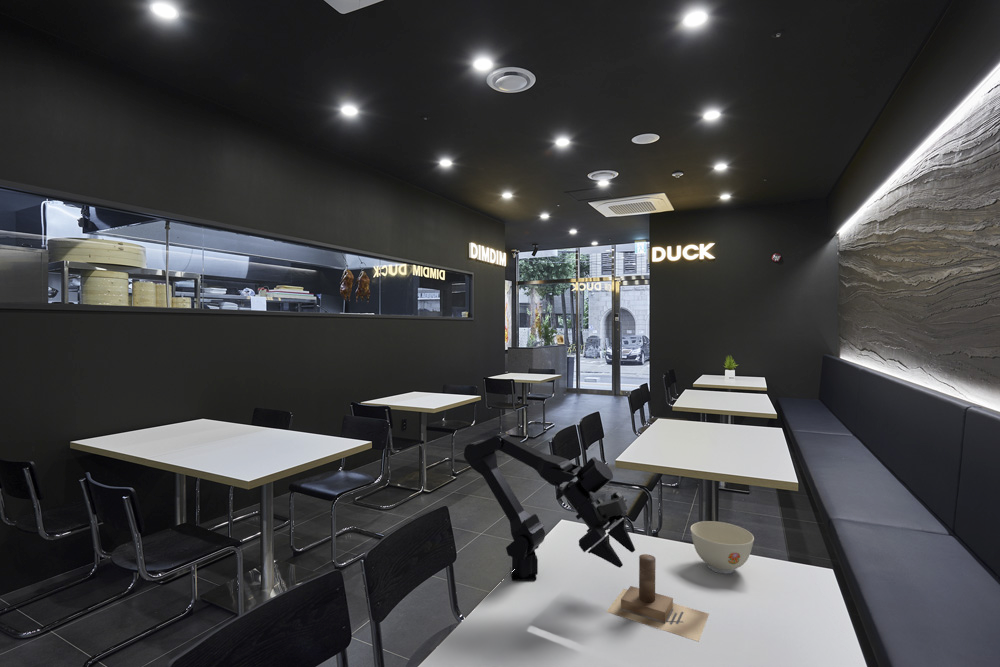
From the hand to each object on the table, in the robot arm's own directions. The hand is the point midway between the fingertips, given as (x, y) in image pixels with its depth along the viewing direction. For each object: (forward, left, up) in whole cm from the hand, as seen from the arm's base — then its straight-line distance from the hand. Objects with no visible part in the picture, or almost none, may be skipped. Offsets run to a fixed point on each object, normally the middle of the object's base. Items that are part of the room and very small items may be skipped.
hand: (627, 558), depth 118 cm
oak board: (+6, -4, -12) cm, 14 cm away
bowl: (+32, +18, -12) cm, 39 cm away
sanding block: (+4, -3, -11) cm, 12 cm away
